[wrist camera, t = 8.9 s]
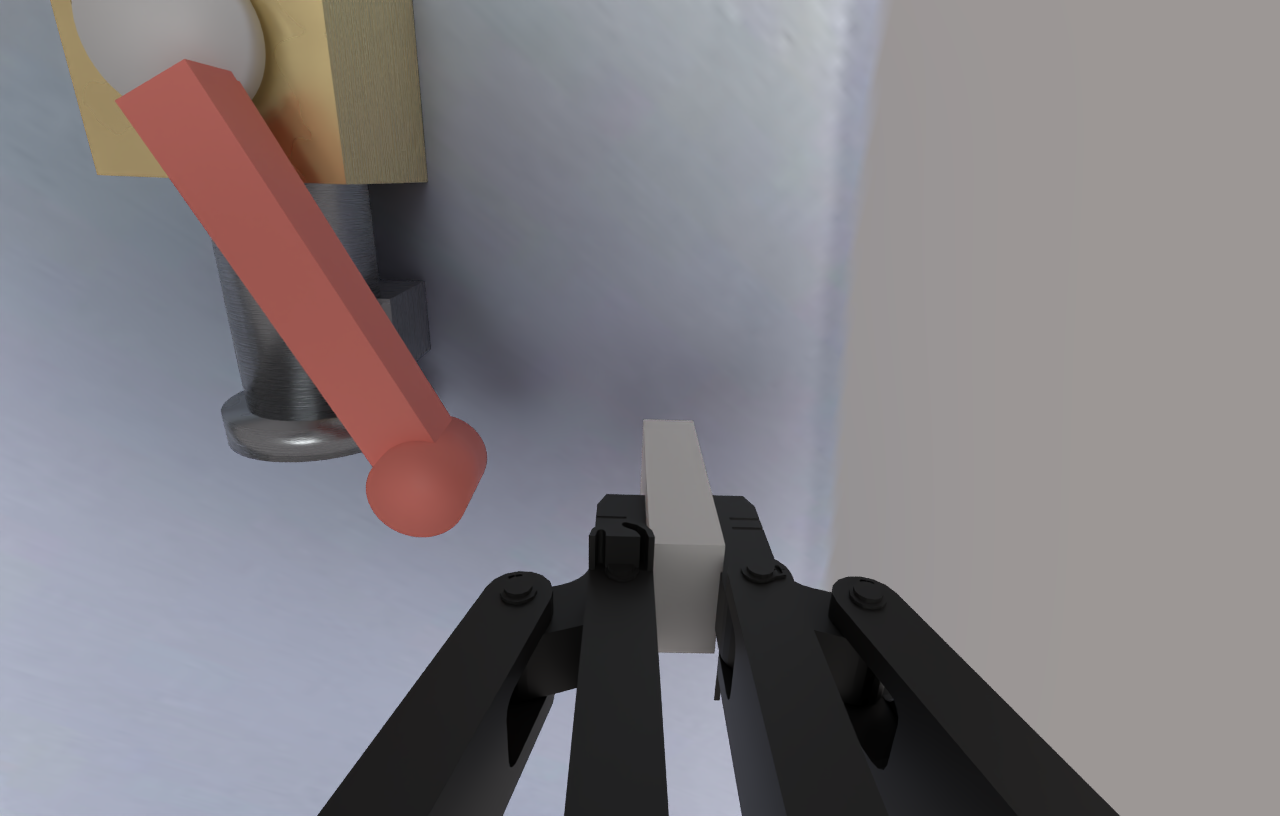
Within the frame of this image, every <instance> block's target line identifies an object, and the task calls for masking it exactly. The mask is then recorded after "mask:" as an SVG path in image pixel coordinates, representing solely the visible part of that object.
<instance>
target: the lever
mask: <svg viewBox="0 0 1280 816" xmlns="http://www.w3.org/2000/svg"><path fill="white" fill-rule="evenodd" d="M72 11H73V18H74V22H75V26H76V29H77V32H78V35H79V38H80V40H81V43H82V45H83V47H84V49H85V51H86V53H87V55H88V57H89V58H90V60H91V61H92V63H93V64H94V66H95V67H96V69H97V70H98V71H99V73H100V74H101V75H102V76H103V78H104V79H105V80H106V81H107V82H108V83H109V84H110V85H111V86H112V87H113V88H114V89H115V90H116V91H118V92H119V93H120V94H121V95H122V96H121V97H120V98H118V99H116V100H115V102H116V103H117V105H118V106H119V108H120V109H121V110H122V112H123V113H124V115H125V116H126V117H127V119H128V120H129V122H130V123H131V125H132V126H133V127H134V129H135V130H136V132H137V133H138V135H139V136H140V137H141V139H142V140H143V142H144V143H145V144H146V146H147V147H148V149H149V150H150V152H151V153H152V154H153V156H154V157H155V159H156V160H157V161H158V163H159V164H160V166H161V167H162V169H163V170H164V171H165V173H166V174H167V176H168V177H169V179H170V180H171V181H172V183H173V184H174V186H175V187H176V188H177V190H178V191H179V193H180V194H181V196H182V197H183V198H184V200H185V201H186V203H187V204H188V205H189V207H190V208H191V210H192V211H193V213H194V214H195V215H196V217H197V218H198V220H199V221H200V223H201V224H202V225H203V227H204V228H205V230H206V231H207V232H208V234H209V235H210V237H211V238H212V240H213V241H214V242H215V244H216V245H217V247H218V248H219V249H220V251H221V252H222V254H223V255H224V257H225V258H226V259H227V261H228V262H229V264H230V265H231V267H232V268H233V269H234V271H235V272H236V274H237V275H238V276H239V278H240V279H241V281H242V282H243V284H244V285H245V286H246V288H247V289H248V291H249V292H250V294H251V295H252V296H253V298H254V299H255V301H256V302H257V303H258V305H259V306H260V308H261V309H262V311H263V312H264V313H265V315H266V316H267V318H268V319H269V320H270V322H271V323H272V325H273V326H274V328H275V329H276V330H277V332H278V333H279V335H280V336H281V338H282V339H283V340H284V342H285V343H286V345H287V346H288V347H289V349H290V350H291V352H292V353H293V355H294V356H295V357H296V359H297V360H298V362H299V363H300V364H301V366H302V367H303V369H304V370H305V372H306V373H307V374H308V376H309V377H310V379H311V380H312V382H313V383H314V384H315V386H316V387H317V389H318V390H319V391H320V393H321V394H322V396H323V397H324V399H325V400H326V401H327V403H328V404H329V406H330V407H331V409H332V410H333V411H334V413H335V414H336V416H337V417H338V418H339V420H340V421H341V423H342V424H343V426H344V427H345V428H346V430H347V431H348V433H349V434H350V435H351V437H352V438H353V440H354V441H355V443H356V444H357V445H358V447H359V448H360V450H361V451H362V453H363V454H364V455H365V457H366V458H367V460H368V461H369V462H370V464H371V465H372V467H373V468H372V469H371V471H370V473H369V475H368V478H367V482H366V494H367V499H368V502H369V504H370V506H371V508H372V510H373V512H374V513H375V514H376V516H377V517H378V518H379V519H380V520H381V521H382V522H383V523H384V524H386V525H387V526H388V527H390V528H391V529H393V530H395V531H397V532H399V533H402V534H405V535H409V536H414V537H432V536H436V535H439V534H442V533H444V532H446V531H448V530H450V529H451V528H453V527H454V526H455V525H456V524H457V523H458V522H459V520H460V519H461V517H462V516H463V514H464V512H465V510H466V508H467V506H468V504H469V502H470V500H471V498H472V496H473V493H474V491H475V489H476V487H477V485H478V483H479V481H480V479H481V477H482V475H483V473H484V471H485V468H486V464H487V452H486V448H485V445H484V442H483V441H482V439H481V437H480V436H479V434H478V433H477V432H476V431H475V430H474V429H473V428H472V427H471V426H470V425H468V424H467V423H466V422H464V421H462V420H460V419H458V418H455V417H452V416H450V415H449V413H448V412H447V410H446V409H445V407H444V405H443V404H442V402H441V401H440V399H439V397H438V396H437V394H436V393H435V391H434V390H433V388H432V386H431V385H430V383H429V382H428V380H427V378H426V377H425V375H424V374H423V372H422V370H421V369H420V367H419V366H418V364H417V363H416V361H415V359H414V358H413V356H412V355H411V353H410V351H409V350H408V348H407V347H406V345H405V343H404V342H403V340H402V339H401V337H400V336H399V334H398V332H397V331H396V329H395V328H394V326H393V324H392V323H391V321H390V320H389V318H388V316H387V315H386V313H385V312H384V310H383V308H382V307H381V305H380V304H379V302H378V301H377V299H376V297H375V296H374V294H373V293H372V291H371V289H370V288H369V286H368V285H367V283H366V281H365V280H364V278H363V277H362V275H361V274H360V272H359V270H358V269H357V267H356V266H355V264H354V262H353V261H352V259H351V258H350V256H349V254H348V253H347V251H346V250H345V248H344V247H343V245H342V243H341V242H340V240H339V239H338V237H337V235H336V234H335V232H334V231H333V229H332V227H331V226H330V224H329V223H328V221H327V219H326V218H325V216H324V215H323V213H322V212H321V210H320V208H319V207H318V205H317V204H316V202H315V200H314V199H313V197H312V196H311V194H310V192H309V191H308V189H307V188H306V186H305V185H304V183H303V181H302V180H301V178H300V177H299V175H298V173H297V172H296V170H295V169H294V167H293V165H292V164H291V162H290V161H289V159H288V158H287V156H286V154H285V153H284V151H283V150H282V148H281V146H280V145H279V143H278V142H277V140H276V138H275V137H274V135H273V134H272V132H271V130H270V129H269V127H268V126H267V124H266V123H265V121H264V119H263V118H262V116H261V115H260V113H259V111H258V110H257V108H256V107H255V105H254V103H253V102H252V99H253V97H254V96H255V95H256V93H257V91H258V89H259V87H260V84H261V81H262V78H263V75H264V69H265V59H266V53H265V42H264V36H263V31H262V28H261V24H260V21H259V19H258V16H257V14H256V11H255V9H254V7H253V5H252V3H251V2H250V0H72Z"/></svg>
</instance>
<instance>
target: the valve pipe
mask: <svg viewBox="0 0 1280 816" xmlns="http://www.w3.org/2000/svg"><path fill="white" fill-rule="evenodd" d="M50 1H51V5H52V9H53V12H54V16H55V20H56V23H57V27H58V31H59V34H60V38H61V42H62V46H63V49H64V53H65V57H66V60H67V64H68V68H69V72H70V75H71V79H72V83H73V86H74V90H75V94H76V98H77V101H78V105H79V109H80V112H81V116H82V120H83V123H84V127H85V131H86V135H87V138H88V142H89V146H90V149H91V153H92V157H93V161H94V164H95V168H96V172H97V175H111V176H137V177H163V178H169V177H168V176H167V174H166V173H165V171H164V170H163V169H162V167H161V166H160V164H159V163H158V161H157V160H156V159H155V157H154V156H153V154H152V153H151V152H150V150H149V149H148V147H147V146H146V144H145V143H144V142H143V140H142V139H141V137H140V136H139V135H138V133H137V132H136V130H135V129H134V127H133V126H132V125H131V123H130V122H129V120H128V119H127V117H126V116H125V115H124V113H123V112H122V110H121V109H120V108H119V106H118V105H117V103H116V102H115V100H116V99H118V98H120V97H121V96H122V95H121V94H120V93H119V92H118V91H116V90H115V89H114V88H113V87H112V86H111V85H110V84H109V83H108V82H107V81H106V80H105V79H104V78H103V76H102V75H101V74H100V73H99V71H98V70H97V69H96V67H95V66H94V64H93V63H92V61H91V60H90V58H89V57H88V55H87V53H86V51H85V49H84V47H83V45H82V43H81V40H80V38H79V35H78V32H77V29H76V26H75V22H74V18H73V11H72V0H50ZM250 2H251V3H252V5H253V7H254V9H255V11H256V14H257V16H258V19H259V21H260V24H261V28H262V31H263V36H264V42H265V53H266V59H265V69H264V75H263V78H262V81H261V84H260V87H259V89H258V91H257V93H256V95H255V96H254V97H253V99H252V102H253V103H254V105H255V107H256V108H257V110H258V111H259V113H260V115H261V116H262V118H263V119H264V121H265V123H266V124H267V126H268V127H269V129H270V130H271V132H272V134H273V135H274V137H275V138H276V140H277V142H278V143H279V145H280V146H281V148H282V150H283V151H284V153H285V154H286V156H287V158H288V159H289V161H290V162H291V164H292V165H293V167H294V169H295V170H296V172H297V173H298V175H299V177H300V178H301V180H302V181H303V183H304V185H305V186H306V188H307V189H308V191H309V192H310V194H311V196H312V197H313V199H314V200H315V202H316V204H317V205H318V207H319V208H320V210H321V212H322V213H323V215H324V216H325V218H326V219H327V221H328V223H329V224H330V226H331V227H332V229H333V231H334V232H335V234H336V235H337V237H338V239H339V240H340V242H341V243H342V245H343V247H344V248H345V250H346V251H347V253H348V254H349V256H350V258H351V259H352V261H353V262H354V264H355V266H356V267H357V269H358V270H359V272H360V274H361V275H362V277H363V278H364V280H365V281H366V283H367V285H368V286H369V288H370V289H371V291H372V293H373V294H374V296H375V297H376V299H377V301H378V302H379V304H380V305H381V307H382V308H383V310H384V312H385V313H386V315H387V316H388V318H389V320H390V321H391V323H392V324H393V326H394V328H395V329H396V331H397V332H398V334H399V336H400V337H401V339H402V340H403V342H404V343H405V345H406V347H407V348H408V350H409V351H410V353H411V355H412V356H413V358H414V359H415V361H417V360H419V359H420V358H421V357H422V356H423V355H424V354H425V353H427V352H428V351H429V350H430V349H431V347H430V336H429V325H428V315H427V304H426V293H425V282H424V281H401V280H379V275H378V267H377V259H376V250H375V242H374V233H373V225H372V217H371V208H370V200H369V191H368V184H381V183H416V182H428V180H427V168H426V156H425V144H424V133H423V121H422V109H421V97H420V86H419V74H418V62H417V50H416V39H415V27H414V15H413V3H412V0H250ZM211 239H212V238H211ZM212 244H213V249H214V254H215V258H216V263H217V268H218V272H219V277H220V282H221V286H222V291H223V296H224V301H225V306H226V310H227V315H228V320H229V324H230V329H231V334H232V339H233V343H234V348H235V353H236V357H237V362H238V367H239V371H240V375H241V380H242V385H243V389H244V391H242V392H240V393H238V394H236V395H234V396H233V397H231V398H230V399H229V400H227V401H226V402H225V403H224V405H223V406H222V409H221V413H222V418H223V422H224V427H225V431H226V435H227V440H228V444H229V446H230V448H231V449H232V450H233V451H235V452H236V453H238V454H240V455H242V456H245V457H248V458H252V459H257V460H263V461H271V462H307V461H318V460H326V459H332V458H338V457H343V456H348V455H353V454H357V453H361V452H362V451H361V450H360V448H359V447H358V445H357V444H356V443H355V441H354V440H353V438H352V437H351V435H350V434H349V433H348V431H347V430H346V428H345V427H344V426H343V424H342V423H341V421H340V420H339V418H338V417H337V416H336V414H335V413H334V411H333V410H332V409H331V407H330V406H329V404H328V403H327V401H326V400H325V399H324V397H323V396H322V394H321V393H320V391H319V390H318V389H317V387H316V386H315V384H314V383H313V382H312V380H311V379H310V377H309V376H308V374H307V373H306V372H305V370H304V369H303V367H302V366H301V364H300V363H299V362H298V360H297V359H296V357H295V356H294V355H293V353H292V352H291V350H290V349H289V347H288V346H287V345H286V343H285V342H284V340H283V339H282V338H281V336H280V335H279V333H278V332H277V330H276V329H275V328H274V326H273V325H272V323H271V322H270V320H269V319H268V318H267V316H266V315H265V313H264V312H263V311H262V309H261V308H260V306H259V305H258V303H257V302H256V301H255V299H254V298H253V296H252V295H251V294H250V292H249V291H248V289H247V288H246V286H245V285H244V284H243V282H242V281H241V279H240V278H239V276H238V275H237V274H236V272H235V271H234V269H233V268H232V267H231V265H230V264H229V262H228V261H227V259H226V258H225V257H224V255H223V254H222V252H221V251H220V249H219V248H218V247H217V245H216V244H215V242H214V241H213V240H212Z"/></svg>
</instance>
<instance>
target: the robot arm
mask: <svg viewBox="0 0 1280 816" xmlns="http://www.w3.org/2000/svg"><path fill="white" fill-rule="evenodd" d="M716 637H717V642H718V648H719V657H718V667H717V676H716V686H715V696H714V700H720V692H721V697H722V703H723V709H724V715H725V720H726V726H727V732H728V738H729V744H730V749H731V755H732V761H733V767H734V773H735V778H736V784H737V790H738V796H739V801H740V807H741V813H742V816H1119V814H1118V813H1116V812H1115V811H1114V809H1113V808H1111V806H1110V805H1109V804H1108V803H1107V802H1106V801H1105V800H1104V799H1102V798H1101V797H1100V796H1099V795H1098V794H1097V793H1096V792H1095V791H1094V790H1093V789H1092V788H1091V787H1090V786H1089V785H1088V784H1087V783H1086V782H1085V781H1084V780H1083V779H1082V778H1081V777H1080V776H1079V775H1078V774H1077V773H1076V772H1075V771H1074V770H1073V769H1072V768H1071V767H1070V766H1069V765H1068V764H1067V763H1066V762H1065V761H1064V760H1063V759H1062V758H1061V757H1060V756H1059V755H1058V754H1057V753H1056V752H1055V751H1054V750H1053V749H1052V748H1051V747H1050V746H1049V745H1048V744H1047V743H1046V742H1045V741H1044V740H1043V739H1042V738H1041V737H1040V736H1039V735H1038V734H1037V733H1036V732H1035V731H1034V730H1033V729H1032V728H1031V727H1030V726H1029V725H1028V724H1027V723H1026V722H1025V721H1024V720H1023V719H1022V718H1021V717H1020V716H1019V715H1018V714H1017V713H1016V712H1015V711H1014V710H1013V709H1012V708H1011V707H1010V706H1009V705H1008V704H1007V703H1006V702H1005V701H1004V700H1003V699H1002V698H1001V697H1000V696H999V695H998V694H997V693H996V692H995V691H994V690H993V689H992V688H991V687H990V686H989V685H988V684H987V683H986V682H985V681H984V680H983V679H982V678H981V677H980V676H979V675H978V674H977V673H976V672H975V671H974V670H973V669H972V668H971V667H970V666H969V665H968V664H967V663H966V662H965V661H964V660H963V659H962V658H961V657H960V656H959V655H958V654H957V653H956V652H955V651H954V650H953V649H952V648H951V647H950V646H949V645H948V644H947V643H946V642H945V641H944V640H943V639H942V638H941V637H940V636H939V635H938V634H937V633H936V632H935V631H934V630H933V629H932V628H931V627H930V626H929V625H928V624H927V623H926V622H925V621H924V620H923V619H922V618H921V617H920V616H919V615H918V614H917V613H916V612H915V611H914V610H913V609H912V608H911V607H910V606H909V605H908V604H907V603H906V602H905V601H904V600H903V599H902V598H901V597H900V596H899V595H898V594H897V593H895V592H894V591H893V590H892V589H890V588H889V587H888V586H886V585H884V584H882V583H880V582H877V581H875V580H873V579H869V578H864V577H846V578H843V579H839V580H838V581H837V582H836V583H835V584H834V585H833V588H832V593H831V592H827V591H823V590H818V589H814V588H810V587H807V586H804V585H801V584H799V583H797V582H794V579H793V577H792V574H791V573H790V571H789V570H788V569H787V567H786V566H784V565H783V564H782V563H780V562H779V561H777V560H775V559H774V557H773V554H772V551H771V549H770V546H769V543H768V541H767V538H766V536H765V533H764V530H763V528H762V525H761V522H760V521H759V517H758V514H757V512H756V509H755V507H754V506H753V505H752V504H751V503H750V502H749V501H748V500H747V499H745V498H744V497H743V496H716V495H712V492H711V488H710V484H709V481H708V477H707V473H706V469H705V465H704V461H703V457H702V454H701V450H700V446H699V442H698V438H697V434H696V430H695V427H694V423H693V421H687V420H652V419H643V438H642V462H641V486H640V495H618V494H606V495H605V496H604V498H603V499H602V500H601V501H600V502H599V503H598V504H597V514H596V524H595V527H594V528H593V529H592V530H591V533H590V535H589V570H588V571H587V572H586V573H585V574H584V575H583V576H582V577H580V578H579V579H577V580H575V581H572V582H570V583H566V584H563V585H558V586H553V587H552V586H551V583H550V581H549V580H547V579H546V578H545V577H544V576H543V575H540V574H537V573H533V572H523V571H518V572H513V573H507V574H505V575H502V576H500V577H498V578H496V579H494V580H493V581H492V582H491V583H490V584H489V585H488V586H487V587H486V588H485V589H484V591H483V592H482V593H481V595H480V596H479V598H478V599H477V600H476V602H475V603H474V604H473V606H472V607H471V608H470V610H469V611H468V612H467V614H466V615H465V617H464V618H463V619H462V621H461V622H460V623H459V625H458V626H457V627H456V629H455V630H454V631H453V633H452V634H451V635H450V637H449V638H448V640H447V641H446V642H445V644H444V645H443V646H442V648H441V649H440V650H439V652H438V653H437V654H436V656H435V657H434V658H433V660H432V661H431V663H430V664H429V665H428V667H427V668H426V669H425V671H424V672H423V673H422V675H421V676H420V677H419V679H418V680H417V681H416V683H415V684H414V686H413V687H412V688H411V690H410V691H409V692H408V694H407V695H406V696H405V698H404V699H403V700H402V702H401V703H400V704H399V706H398V707H397V709H396V710H395V711H394V713H393V714H392V715H391V717H390V718H389V719H388V721H387V722H386V723H385V725H384V726H383V727H382V729H381V730H380V732H379V733H378V734H377V736H376V737H375V738H374V740H373V741H372V742H371V744H370V745H369V746H368V748H367V749H366V750H365V752H364V753H363V755H362V756H361V757H360V759H359V760H358V761H357V763H356V764H355V765H354V767H353V768H352V769H351V771H350V772H349V773H348V775H347V776H346V778H345V779H344V780H343V782H342V783H341V784H340V786H339V787H338V788H337V790H336V791H335V792H334V794H333V795H332V797H331V798H330V799H329V801H328V802H327V803H326V805H325V806H324V807H323V809H322V810H321V811H320V813H319V814H318V815H317V816H503V814H504V812H505V809H506V807H507V805H508V803H509V800H510V798H511V796H512V794H513V791H514V789H515V787H516V785H517V782H518V780H519V778H520V776H521V773H522V771H523V769H524V767H525V764H526V762H527V760H528V758H529V755H530V753H531V751H532V749H533V746H534V744H535V742H536V740H537V737H538V735H539V733H540V731H541V729H542V726H543V724H544V722H545V720H546V717H547V715H548V713H549V711H550V708H551V706H552V704H553V700H554V695H555V693H559V692H563V691H567V690H570V689H574V688H577V692H576V702H575V712H574V722H573V732H572V742H571V752H570V762H569V772H568V782H567V792H566V802H565V812H564V816H669V812H668V796H667V781H666V765H665V749H664V733H663V718H662V702H661V686H660V670H659V655H658V652H662V653H714V651H715V641H716Z"/></svg>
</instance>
